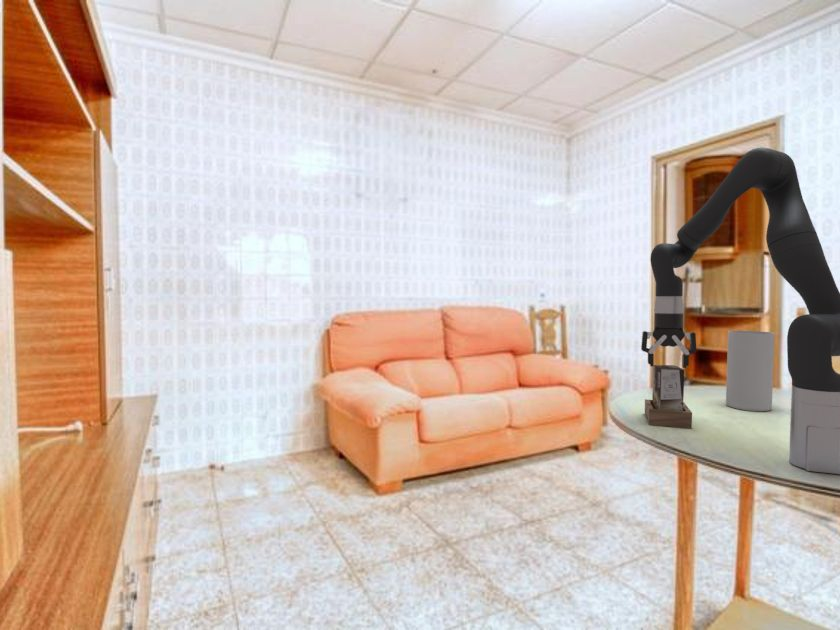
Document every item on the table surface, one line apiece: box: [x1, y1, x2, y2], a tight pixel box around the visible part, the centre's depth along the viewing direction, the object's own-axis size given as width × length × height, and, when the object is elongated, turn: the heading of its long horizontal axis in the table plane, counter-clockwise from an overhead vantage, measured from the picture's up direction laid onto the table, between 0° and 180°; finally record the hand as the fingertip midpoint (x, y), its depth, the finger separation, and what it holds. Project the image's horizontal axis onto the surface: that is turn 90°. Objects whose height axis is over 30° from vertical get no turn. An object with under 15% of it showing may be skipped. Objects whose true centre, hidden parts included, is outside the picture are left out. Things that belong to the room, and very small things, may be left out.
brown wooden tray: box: [644, 398, 693, 430], centre depth 141 cm, size 14×11×4 cm
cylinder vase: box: [725, 330, 775, 413], centre depth 157 cm, size 12×12×25 cm
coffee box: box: [651, 364, 685, 411], centre depth 140 cm, size 9×6×16 cm
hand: (667, 366), depth 140 cm, fingers open, 8 cm apart
